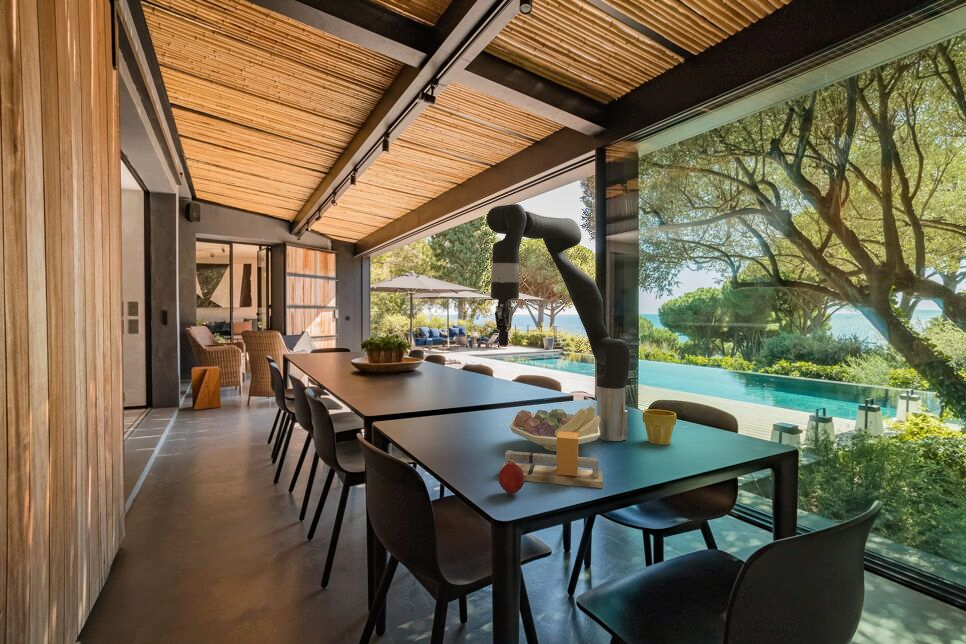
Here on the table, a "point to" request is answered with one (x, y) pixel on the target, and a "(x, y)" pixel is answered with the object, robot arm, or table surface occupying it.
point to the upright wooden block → (567, 453)
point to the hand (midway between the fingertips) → (503, 345)
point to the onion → (511, 478)
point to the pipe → (551, 460)
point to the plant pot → (659, 425)
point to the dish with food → (556, 426)
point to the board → (560, 476)
